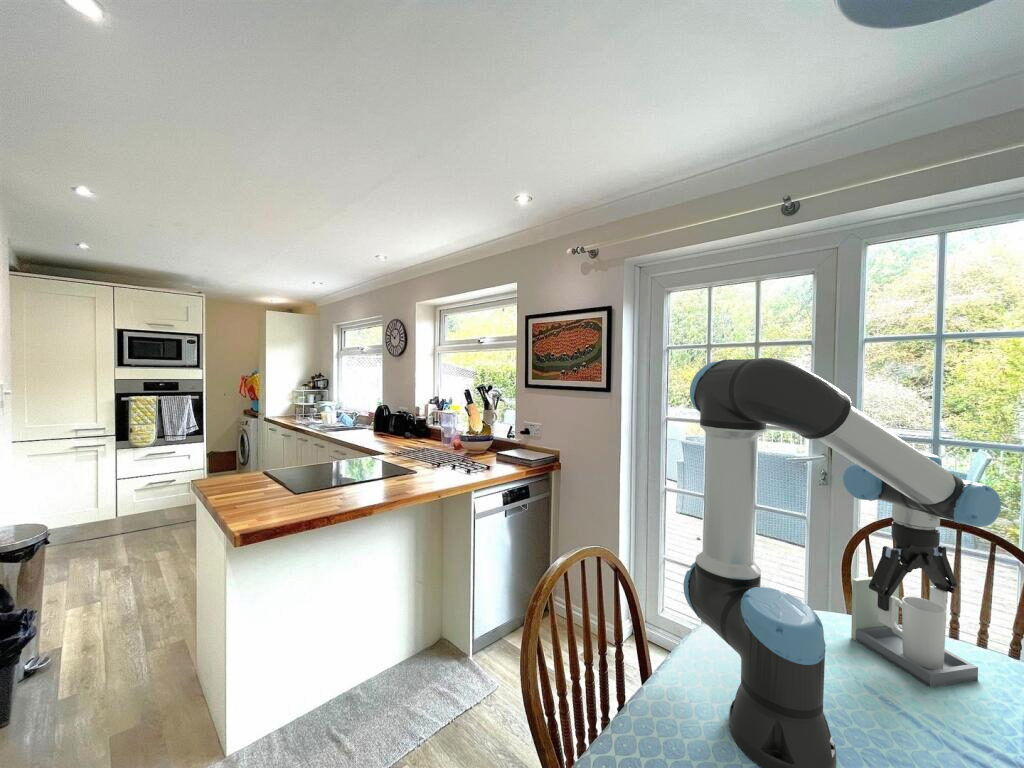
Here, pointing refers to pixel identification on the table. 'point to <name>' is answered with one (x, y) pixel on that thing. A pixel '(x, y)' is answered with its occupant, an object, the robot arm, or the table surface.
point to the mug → (922, 631)
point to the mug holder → (899, 641)
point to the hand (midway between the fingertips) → (912, 621)
